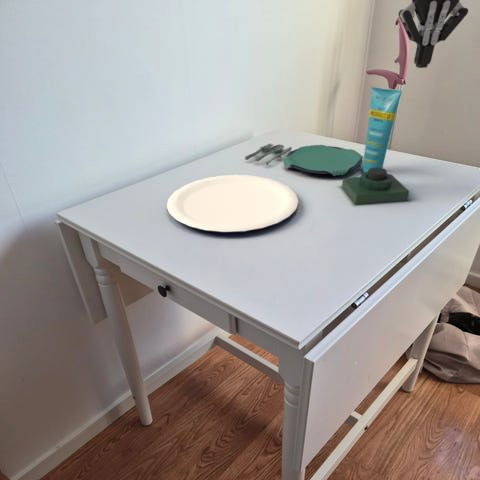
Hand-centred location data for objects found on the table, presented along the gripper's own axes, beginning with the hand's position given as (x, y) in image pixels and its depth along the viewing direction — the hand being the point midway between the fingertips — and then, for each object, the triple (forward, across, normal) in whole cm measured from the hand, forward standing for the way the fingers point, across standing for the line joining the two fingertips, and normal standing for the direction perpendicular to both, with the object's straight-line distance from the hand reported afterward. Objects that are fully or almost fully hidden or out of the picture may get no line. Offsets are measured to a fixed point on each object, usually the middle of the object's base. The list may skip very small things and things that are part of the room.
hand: (421, 67), depth 84 cm
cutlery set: (+25, -17, +21) cm, 37 cm away
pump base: (+25, -6, -2) cm, 26 cm away
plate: (+25, -39, -3) cm, 47 cm away
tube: (+25, -2, +11) cm, 27 cm away
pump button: (+21, -6, -2) cm, 22 cm away
